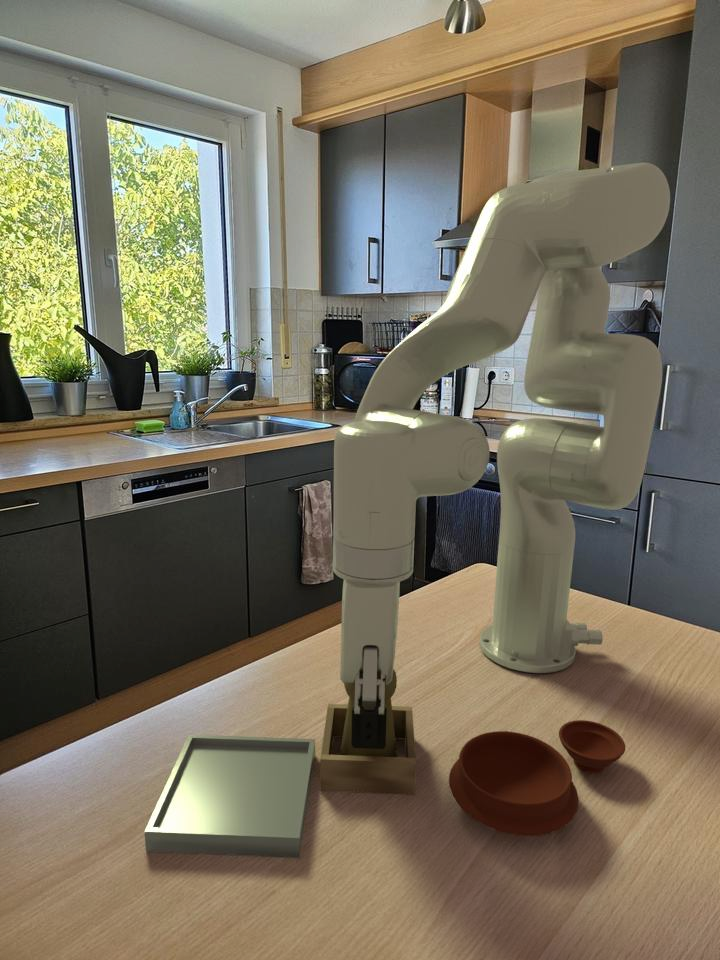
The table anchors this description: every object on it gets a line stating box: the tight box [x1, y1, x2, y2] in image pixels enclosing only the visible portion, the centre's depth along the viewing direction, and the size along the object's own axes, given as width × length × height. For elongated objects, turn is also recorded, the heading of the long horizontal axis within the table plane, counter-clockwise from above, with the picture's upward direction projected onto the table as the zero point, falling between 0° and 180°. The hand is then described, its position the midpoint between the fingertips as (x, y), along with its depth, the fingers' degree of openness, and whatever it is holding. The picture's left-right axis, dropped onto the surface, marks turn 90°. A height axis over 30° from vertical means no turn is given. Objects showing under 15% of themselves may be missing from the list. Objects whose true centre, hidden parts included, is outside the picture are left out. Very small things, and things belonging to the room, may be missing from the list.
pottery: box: [448, 719, 626, 837], centre depth 63 cm, size 12×20×4 cm, turn 122°
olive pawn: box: [339, 668, 398, 757], centre depth 66 cm, size 6×6×11 cm
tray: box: [144, 734, 316, 859], centre depth 61 cm, size 13×13×2 cm
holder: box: [319, 703, 417, 795], centre depth 67 cm, size 9×9×4 cm
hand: (369, 719), depth 66 cm, fingers open, 7 cm apart
